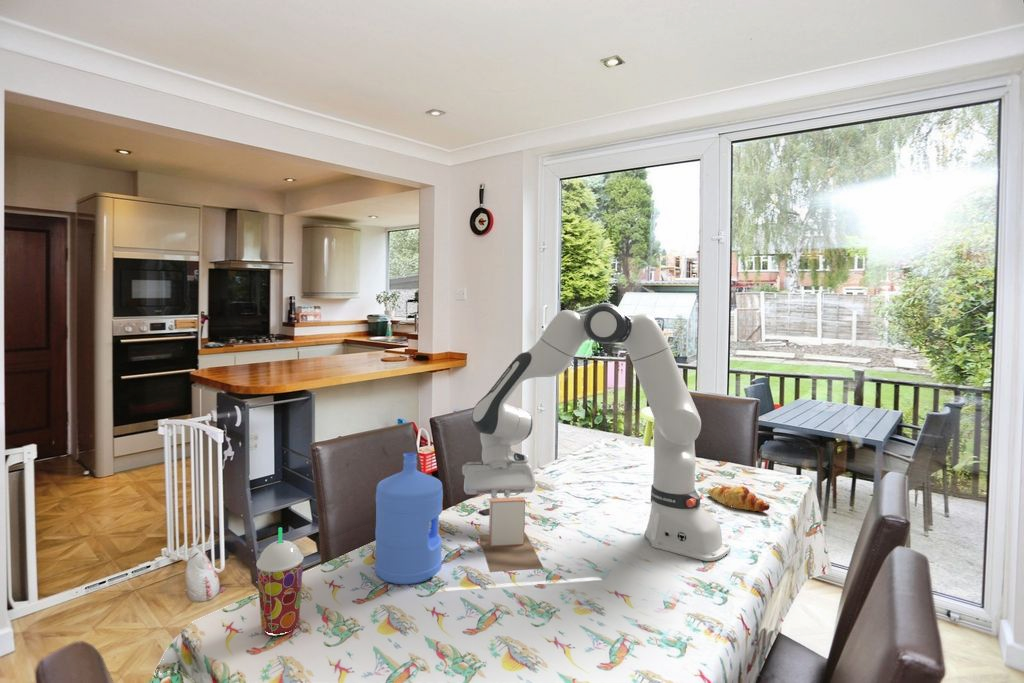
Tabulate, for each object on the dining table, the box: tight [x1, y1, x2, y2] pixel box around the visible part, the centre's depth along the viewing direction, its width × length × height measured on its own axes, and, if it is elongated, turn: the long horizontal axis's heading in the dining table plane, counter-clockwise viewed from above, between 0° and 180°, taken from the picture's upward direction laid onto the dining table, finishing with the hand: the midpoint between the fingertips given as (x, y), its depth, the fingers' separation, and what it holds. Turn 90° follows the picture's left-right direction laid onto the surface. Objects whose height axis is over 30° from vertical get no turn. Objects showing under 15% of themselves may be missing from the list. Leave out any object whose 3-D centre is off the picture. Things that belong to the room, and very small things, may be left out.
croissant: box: [707, 485, 771, 513], centre depth 182 cm, size 21×10×8 cm, turn 40°
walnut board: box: [478, 532, 544, 573], centre depth 143 cm, size 21×13×1 cm, turn 11°
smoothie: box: [255, 527, 304, 634], centre depth 107 cm, size 8×8×20 cm
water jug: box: [374, 452, 444, 585], centre depth 132 cm, size 16×16×28 cm
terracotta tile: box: [488, 496, 526, 547], centre depth 146 cm, size 3×9×12 cm, turn 101°
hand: (501, 506), depth 153 cm, fingers closed
